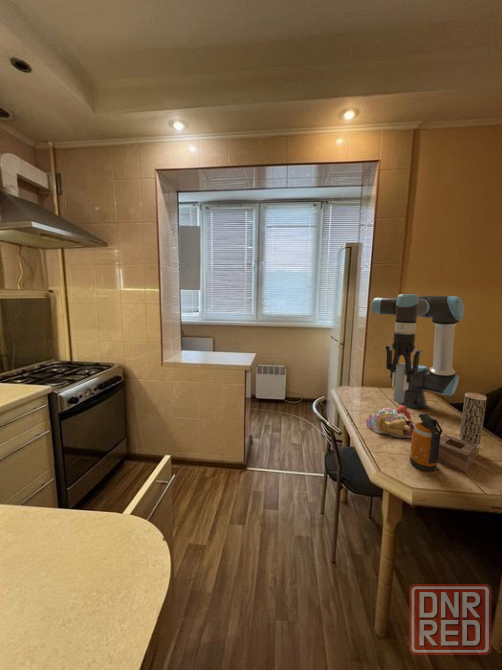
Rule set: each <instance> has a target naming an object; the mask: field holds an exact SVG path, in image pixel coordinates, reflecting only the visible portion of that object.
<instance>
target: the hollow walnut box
mask: <svg viewBox="0 0 502 670" xmlns="http://www.w3.org/2000/svg"><path fill="white" fill-rule="evenodd" d="M476 446H477V445H474V444H472V443H469V442H466V441H463V440H460V439H459V438H457V437H454V436H451V435H449V434H445V433H444V434H441V436H440V445H439V453H438V463H442V464H444V465H446V466H448V467H451V468H453V469H456V470H458V471H460V472H463V473H467V471H468V470H469V469H470V468H471V466H472V465H473V464H474V463H475V460H476V459H475V458H476V457H475V453H476Z"/></svg>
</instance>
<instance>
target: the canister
mask: <svg viewBox="0 0 502 670" xmlns="http://www.w3.org/2000/svg"><path fill="white" fill-rule="evenodd" d="M418 418H420V422H417V423H416V424H415V429H414V430H413V432H412V438H411V441H410V442H411V445H410V453H409V462H410V463H411V464H412V465H413V466H414V467H416V468H418V469H421V470H423V471H424V470H425V471H429V472H430V471H435V470H436V469H437V468H438V464H439V461H438V453H439V445H440V437H441V436H442V435H443V434H442V433H443V432H444V430H443V429H442V427H441V425H440V424H439V422H438V420H437V418H436V419H434V418H433V417H431V416H430V415H429V414H427V413H421V414H418Z"/></svg>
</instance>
